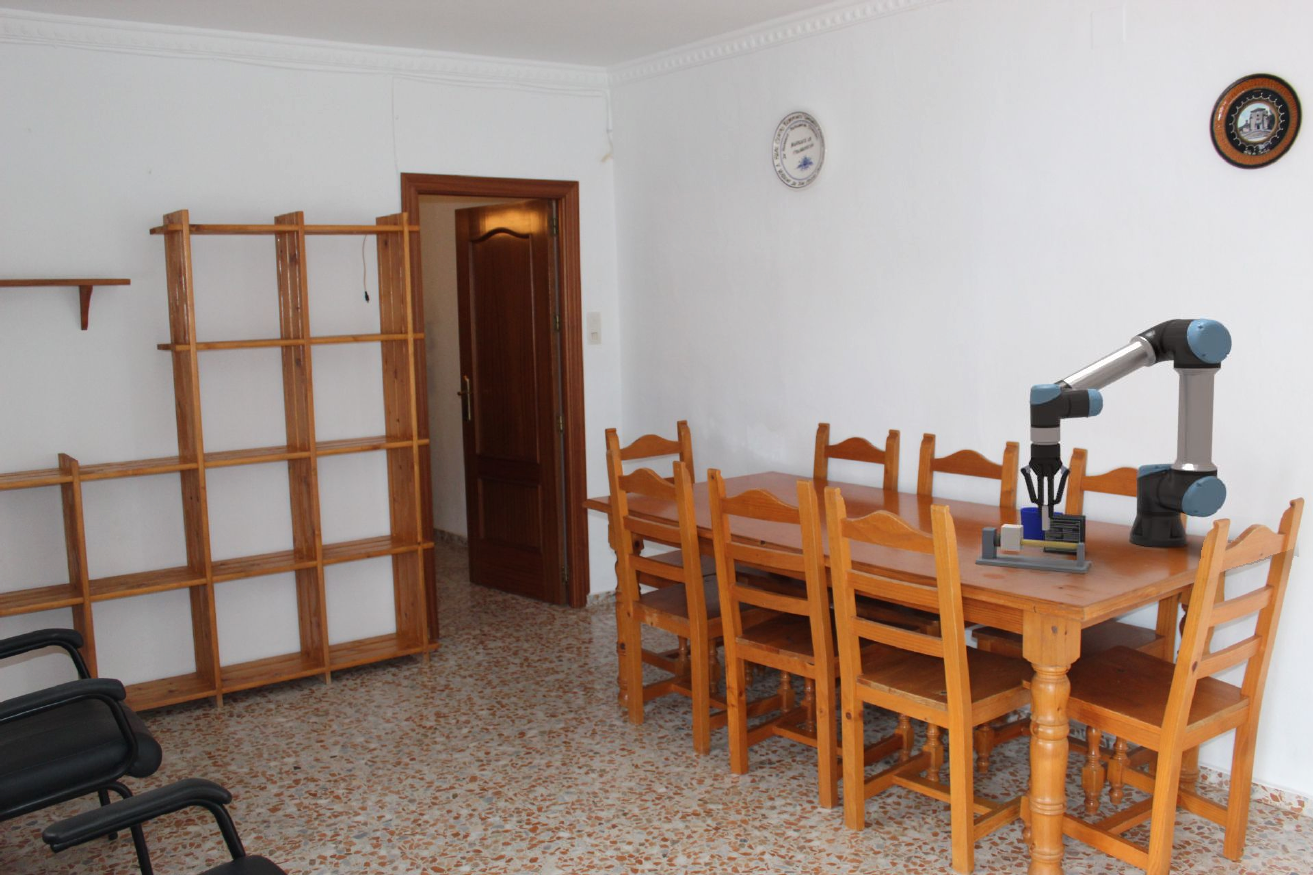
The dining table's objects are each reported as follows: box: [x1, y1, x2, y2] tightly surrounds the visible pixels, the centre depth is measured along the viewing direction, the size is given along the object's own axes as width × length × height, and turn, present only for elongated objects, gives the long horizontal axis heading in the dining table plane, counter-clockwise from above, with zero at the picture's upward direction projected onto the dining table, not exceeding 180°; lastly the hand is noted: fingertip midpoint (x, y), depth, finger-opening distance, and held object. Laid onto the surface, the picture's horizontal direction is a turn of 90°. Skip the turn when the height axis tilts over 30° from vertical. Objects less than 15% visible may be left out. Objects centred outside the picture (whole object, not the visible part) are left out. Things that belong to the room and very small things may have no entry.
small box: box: [1043, 513, 1087, 556], centre depth 299 cm, size 11×6×10 cm, turn 59°
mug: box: [1019, 506, 1064, 541], centre depth 311 cm, size 8×12×10 cm
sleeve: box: [1000, 523, 1024, 552], centre depth 288 cm, size 5×4×6 cm
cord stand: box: [975, 526, 1092, 575], centre depth 285 cm, size 28×10×9 cm, turn 59°
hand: (1046, 529), depth 283 cm, fingers closed
